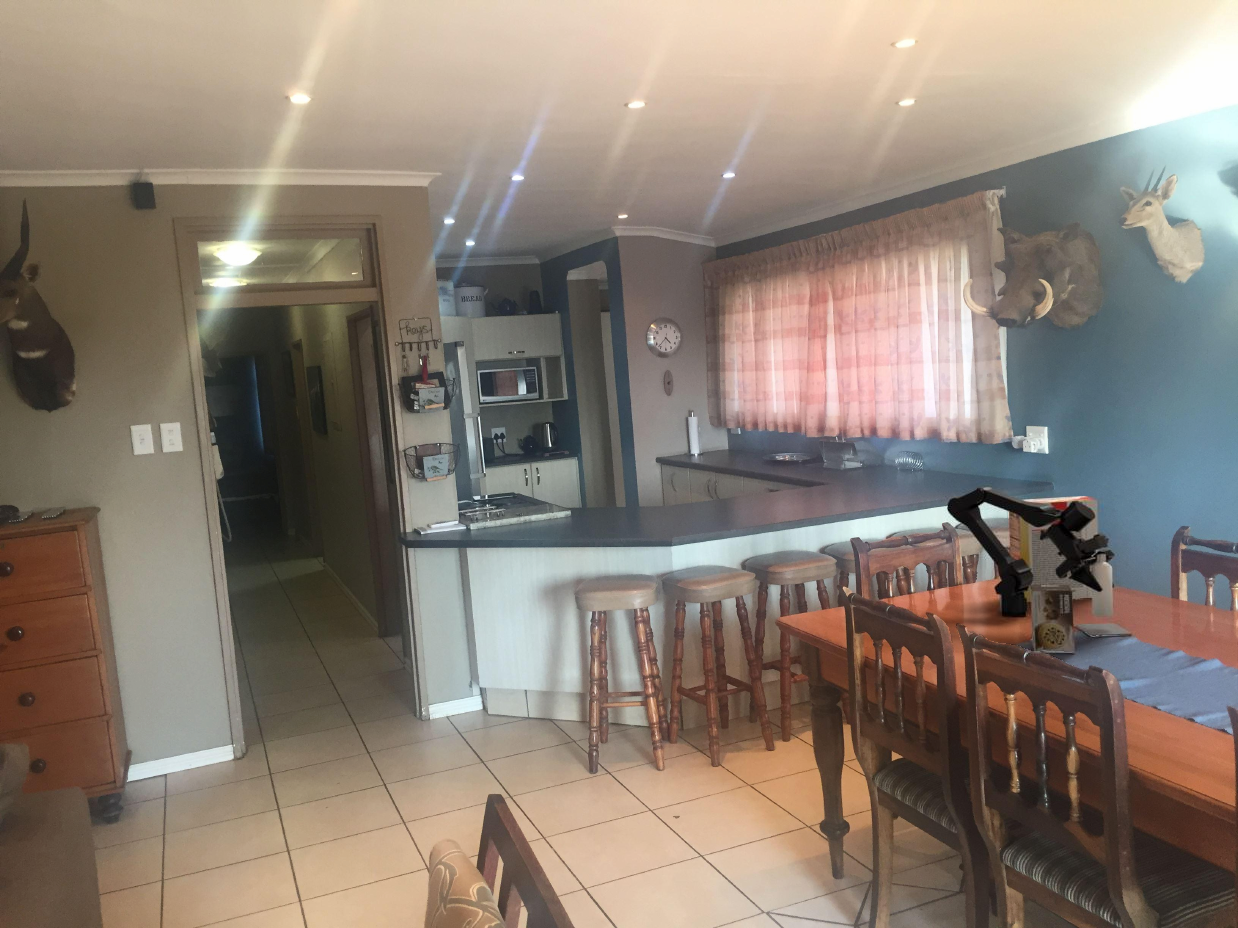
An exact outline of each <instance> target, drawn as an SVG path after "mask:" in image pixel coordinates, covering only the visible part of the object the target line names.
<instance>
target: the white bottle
mask: <svg viewBox="0 0 1238 928" xmlns="http://www.w3.org/2000/svg"><path fill="white" fill-rule="evenodd" d="M1104 561H1106V554H1099V555H1097V562H1096V563H1094V564H1093V565H1092V566H1091V573H1092V575H1093V576H1094V578H1095V579H1096V580H1097V582H1098V583H1099V584H1100V586H1101V588H1102V589H1103V590H1102V591H1101V592H1098V591H1096V590H1094V589H1092V599H1091V615H1092V616H1093V617H1098V618H1111V617H1113V616H1114V613H1113V612H1114V610H1113V609H1114V607H1113V605H1114V603H1113V601H1114V600H1113V588H1112V582H1113V566H1112V565H1111V564H1109V562H1108V563H1107V562H1104Z"/></svg>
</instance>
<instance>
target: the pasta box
mask: <svg viewBox="0 0 1238 928" xmlns="http://www.w3.org/2000/svg"><path fill="white" fill-rule="evenodd" d="M1023 500H1024V501H1028V502H1037V503H1044V504H1050V505H1052V506H1054V507H1055V508H1056V509H1058V510H1063V511H1064V510H1065V509H1066V508H1067V507H1068V506H1069V505H1070V503H1071V502H1072V501H1076V500H1077V501H1078V502H1079V503H1081V504H1084V505H1085V506H1087V507H1088V508H1091V509H1092V511H1093V512H1094V513H1095V519H1093V520H1092V521H1091V522H1090V523H1089V524H1088V525H1087V526H1086V527H1084V528H1083V529H1082V530H1081V531H1080V532H1075V531H1074V532H1073V533H1074V535H1075V536H1076V537H1077V538H1078V539H1080V538H1083V539H1084V540H1085V541H1086V540H1088V539H1091V538H1093V536H1094V535H1096V534H1098V533H1099V521H1098V520H1099V519H1098V518H1099V516H1098V515H1099V513H1098V511H1099V510H1098V499H1097V498H1093V497H1089V496H1086V495H1083V496H1082V495H1079V496H1065V497H1048V498H1047V497H1046V498H1029V499H1023ZM1008 519H1009V520H1008V524H1009V525H1008V527H1009V529H1008V530H1009V554H1010V555H1011V556H1012V557H1013V558H1015V559H1016V560H1018V559H1021V558H1023V559H1024V560H1025V562H1026V564H1027V565H1028V566H1029V567H1030V568H1031V569H1032V570H1030V571H1031V572H1032V573H1033V576H1034V577H1033V582H1032V584H1031V585H1069V586H1070V588H1071V590H1072V596H1073V599H1075V600H1083V599H1082V598H1092V588H1090V587H1088V586H1086V585H1084V584H1082V583H1079V582H1077V581H1075V580H1073V579H1069V577H1070V576H1071V575H1072V574H1071V572H1070V571H1069V572H1068V573H1067V577H1066V578H1063V579H1060V578H1059V577H1058V576H1057V575H1056V572H1055V569H1056V568H1057V567H1058V566H1059V565H1060V564H1061V563H1062V562H1063V561H1064V560H1066V558H1065V557H1064V556H1059V555H1058V554H1057V553H1058V552H1059V550H1058V548H1057V547H1056V546H1055V545H1054V544H1053V543H1052V541H1051V540H1050V539H1046V540H1040V535H1041V530H1047V529H1048V528H1049V527H1050V526H1051V525H1052V524H1051V525H1047V526H1043V527H1034V526H1032V525H1031V524H1029V523H1027V522H1025V521H1024V520H1023V519H1022V518H1021V517H1020V516H1018V515H1017V514H1014V513H1012V512H1009V511H1008ZM1059 521H1060V520H1058V521H1055V523H1053V524H1057V523H1058V522H1059ZM1095 551H1096V553H1097V552H1098V551H1099V549H1097V550H1095ZM1096 553H1095V554H1096ZM1095 554H1094V555H1095ZM1094 555H1092V556H1094ZM1090 571H1091V569H1090ZM1031 585H1030V586H1031ZM1030 586H1029V588H1028V591H1025V592H1024V594H1025V597H1026V599H1027V603H1031V587H1030ZM1080 598H1081V599H1080Z"/></svg>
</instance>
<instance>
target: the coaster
mask: <svg viewBox="0 0 1238 928" xmlns="http://www.w3.org/2000/svg"><path fill="white" fill-rule="evenodd" d="M1074 627H1075V628H1077V629H1078V630H1080V631H1082V632H1083V633H1084V632H1087V633H1088V634H1090V635H1092V636H1096V635H1099V636H1102V635H1118V636H1117V637H1127V636H1128V637H1129V636H1130V637H1131V636H1132V635H1133V633H1132V632H1130V631H1128V630H1127V629H1126V628H1124V627H1122V626H1119V625H1118V624H1117V623H1114V622H1108V623H1106V622H1105V623H1085V624H1081V623H1080V624H1074Z"/></svg>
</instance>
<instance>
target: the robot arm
mask: <svg viewBox="0 0 1238 928" xmlns="http://www.w3.org/2000/svg"><path fill="white" fill-rule="evenodd" d="M1024 500H1025V499H1021V498H1018V497H1015V496H1013V495H1010V494H1007V493H1004V492H1003V491H999V490H997V489H994V488H992V487H990V486H981V487H977V488H976V489H974V490H973V491H970V492H968V493H965V494H964V495H962V496H957V497H952V498H951V499H949V500H948V502H947V507H946V510H947V511H948V514H949V515H950V516H952V518H953V519H954V520H955V521H957V522H958V523H960V524H961V525H964V526H965V527H966V528H968V530H969V531H970V533H972V535H973V536H974V538H975V539H976V540H977V541H978V543H979V544H980V546H981V547H982V548H983V549H984V551H985V552H986V553H987V555H988V556H989V557H990V559H991V560H992V561H993V562H994V564H995V565H996V567H997V572H998V577H999V578H1000V580H1001V581H999V582H998V583H997V584H996V585H995V586H994V591H995V594H996V595H999V609H998V611H999V613H1000V615H1001V616H1002V617H1027V613H1028V602H1027V599H1026V597H1025V594H1024V592H1025V591H1028V588H1029V586H1030V585H1031V584H1032V582H1033V577H1034V576H1033V573H1032V572H1031V571H1030V570H1032V569H1031V568H1030V567H1029V566H1028V565H1027V564H1026V562H1025V560H1024V559H1023V558H1021V559H1018V560H1016V559H1015V558H1013V557H1012V556H1011V555H1010V551H1009V552H1008V550H1007V548H1006V547H1005V546H1004V544H1003V543H1002V542H1001V541H1000V540H999V538H998V537H997V536H996V535H995V533H994V532H993V531H992V529H991V528H990V527H989V525H988V524H987V523H986V521H985V520H984V519H983V518H982V513H981V508H980V506H981V505H983V504H984V503H986V504H988V505H990V506H994V507H996V508H999V509H1001V510H1004V511H1006V512H1008V513H1009V512H1012V513H1014V514H1017V515H1018V516H1020V517H1021V518H1022V519H1023V520H1024V521H1025V522H1027V523H1029V524H1031V525H1032V526H1034V527H1043V526H1047V525H1051V524H1052V525H1051V526H1050V527H1049V528H1048V529H1047V530H1041V535H1040V540H1046V539H1050V540H1051V541H1052V543H1053V544H1054V545H1055V546H1056V547H1057V548H1058V550H1059V552H1058V553H1057V554H1058V555H1059V556H1064V557H1065V558H1066V560H1064V561H1063V562H1062V563H1061V564H1060V565H1059V566H1058V567H1057V568H1056V569H1055V572H1056V575H1057V576H1058V577H1059V578H1060V579H1063V578H1066V577H1067V573H1068V572H1069V571H1070V572H1071V574H1072V575H1071V576H1070V577H1069V579H1073V580H1075V581H1077V582H1079V583H1082V584H1084V585H1086V586H1088V587H1090V588H1092V589H1094V590H1096V591H1098V592H1101V591H1102V590H1103V589H1102V588H1101V586H1100V584H1099V583H1098V582H1097V580H1096V579H1095V578H1094V576H1093V575H1092V573H1091V571H1090V569H1091V566H1092V565H1093V564H1094V563H1096V562H1097V555H1099V554H1106V561H1104V562H1107V563H1108V564H1109V562H1110V561H1111V560H1112V559H1113V558H1115V556H1116V555H1115V553H1114V552H1113V551H1112V550H1111V549H1106V548H1108V547H1109V545H1108V543H1109V538H1108V537H1107V536H1106V535H1105V534H1104V533H1103V532H1098V534H1096V535H1094V536H1093V538H1091V539H1088V540H1086V541H1085V540H1084V539H1083V538H1080V539H1078V538H1077V537H1076V536H1075V535H1074V533H1073V532H1074V531H1075V532H1080V531H1081V530H1082V529H1083V528H1084V527H1086V526H1087V525H1088V524H1089V523H1090V522H1091V521H1092V520H1093V519H1095V513H1094V512H1093V511H1092V509H1091V508H1088V507H1087V506H1085V505H1084V504H1081V503H1079V502H1078V501H1077V500H1076V501H1072V502H1071V503H1070V505H1069V506H1068V507H1067V508H1066V509H1065V510H1064V511H1063V510H1058V509H1056V508H1055V507H1054V506H1052V505H1050V504H1044V503H1037V502H1028V501H1024ZM1058 520H1060V521H1059V522H1058V523H1057V524H1053V523H1055V521H1058ZM1103 548H1105V549H1103ZM1097 549H1098V552H1097V553H1096V551H1095V550H1097ZM1100 549H1101V550H1100ZM1095 553H1096V554H1095ZM1094 554H1095V555H1094ZM1092 555H1094V556H1092ZM1113 588H1115V585H1114V581H1112V589H1113Z"/></svg>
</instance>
